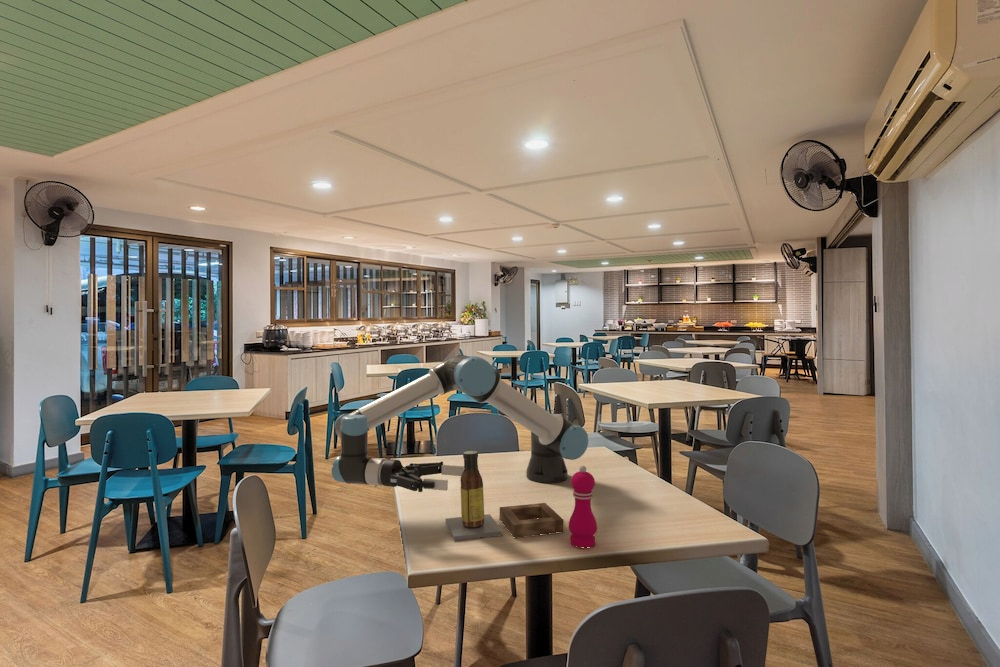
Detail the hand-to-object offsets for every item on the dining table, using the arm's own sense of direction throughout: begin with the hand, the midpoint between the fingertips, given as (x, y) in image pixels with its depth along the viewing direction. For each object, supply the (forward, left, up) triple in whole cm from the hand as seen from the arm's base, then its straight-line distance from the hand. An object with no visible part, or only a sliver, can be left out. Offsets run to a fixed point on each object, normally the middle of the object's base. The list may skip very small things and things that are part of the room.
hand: (455, 477), depth 144 cm
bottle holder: (-20, +4, -14) cm, 25 cm away
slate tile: (-4, +2, -14) cm, 15 cm away
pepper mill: (-29, +19, -14) cm, 38 cm away
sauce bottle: (-4, +2, -13) cm, 14 cm away
